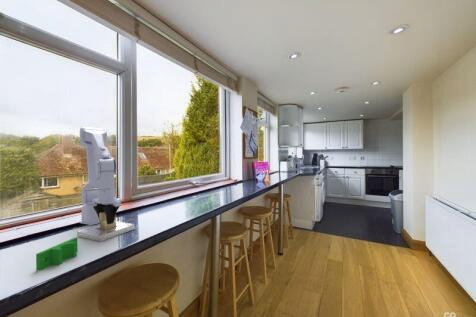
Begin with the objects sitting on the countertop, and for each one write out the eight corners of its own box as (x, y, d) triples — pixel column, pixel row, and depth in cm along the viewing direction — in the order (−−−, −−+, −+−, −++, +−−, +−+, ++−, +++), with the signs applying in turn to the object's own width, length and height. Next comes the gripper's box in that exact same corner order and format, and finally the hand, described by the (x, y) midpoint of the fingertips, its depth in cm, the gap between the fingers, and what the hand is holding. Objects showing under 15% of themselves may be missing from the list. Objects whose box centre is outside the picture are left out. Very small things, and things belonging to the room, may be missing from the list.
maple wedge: (99, 228, 82) (99, 213, 82) (109, 225, 85) (109, 210, 86) (106, 229, 80) (105, 213, 80) (115, 226, 84) (115, 211, 84)
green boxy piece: (48, 271, 54) (48, 254, 54) (36, 271, 55) (35, 254, 55) (85, 252, 66) (84, 237, 66) (74, 251, 66) (74, 237, 66)
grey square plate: (77, 236, 79) (76, 231, 79) (112, 225, 92) (112, 220, 92) (100, 241, 73) (100, 236, 73) (134, 229, 86) (134, 224, 86)
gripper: (127, 188, 83) (128, 222, 83) (104, 186, 89) (105, 218, 89) (110, 190, 77) (111, 227, 77) (86, 189, 83) (87, 223, 83)
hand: (106, 223), depth 82 cm, fingers closed on maple wedge, 4 cm apart
